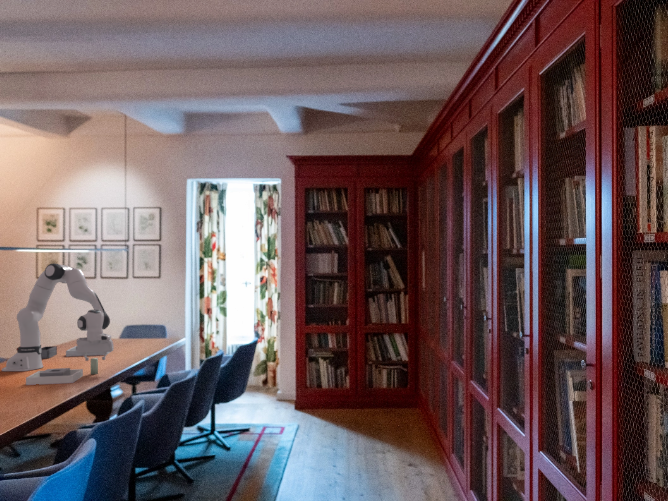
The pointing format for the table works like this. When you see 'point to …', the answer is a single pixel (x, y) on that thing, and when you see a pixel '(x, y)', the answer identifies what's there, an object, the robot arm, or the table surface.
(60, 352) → the table surface
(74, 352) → the shell tray
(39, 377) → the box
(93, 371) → the peg
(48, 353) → the dark grey open bin
